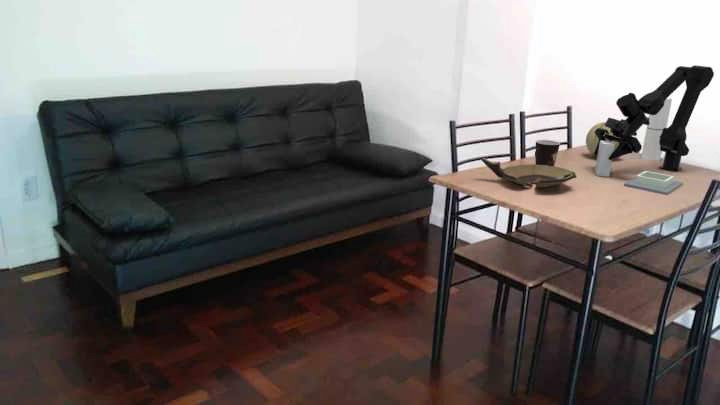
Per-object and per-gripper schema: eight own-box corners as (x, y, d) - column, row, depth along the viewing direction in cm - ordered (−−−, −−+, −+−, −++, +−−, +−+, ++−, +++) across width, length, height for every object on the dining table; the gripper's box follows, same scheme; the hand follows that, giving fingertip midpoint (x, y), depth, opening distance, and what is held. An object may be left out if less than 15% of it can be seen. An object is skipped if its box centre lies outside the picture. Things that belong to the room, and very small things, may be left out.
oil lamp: (561, 200, 190) (565, 176, 187) (473, 182, 206) (475, 160, 203) (581, 185, 207) (585, 163, 205) (499, 169, 223) (501, 149, 221)
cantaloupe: (584, 160, 242) (589, 122, 237) (582, 152, 255) (588, 116, 251) (623, 164, 238) (630, 126, 233) (620, 156, 251) (626, 120, 247)
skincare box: (609, 177, 218) (615, 144, 214) (597, 176, 219) (602, 143, 215) (606, 172, 224) (611, 140, 220) (594, 171, 224) (599, 140, 221)
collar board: (641, 176, 221) (643, 167, 220) (682, 184, 212) (684, 175, 211) (623, 185, 208) (625, 176, 207) (667, 194, 199) (669, 185, 198)
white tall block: (637, 156, 252) (648, 95, 244) (653, 156, 252) (665, 96, 245) (647, 160, 245) (659, 98, 237) (663, 160, 246) (676, 98, 238)
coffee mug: (547, 165, 232) (550, 139, 228) (561, 171, 224) (564, 144, 221) (520, 166, 228) (524, 140, 225) (534, 172, 220) (537, 145, 217)
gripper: (602, 105, 223) (573, 136, 223) (641, 114, 207) (610, 148, 207) (615, 126, 229) (587, 156, 228) (654, 136, 212) (624, 169, 212)
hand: (601, 157), depth 219 cm, fingers closed on skincare box, 7 cm apart
